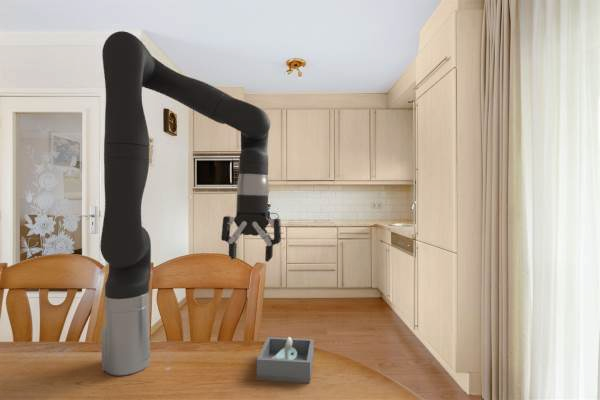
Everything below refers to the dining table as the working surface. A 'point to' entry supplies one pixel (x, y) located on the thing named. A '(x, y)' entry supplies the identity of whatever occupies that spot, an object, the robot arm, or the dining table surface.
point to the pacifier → (287, 351)
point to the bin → (286, 361)
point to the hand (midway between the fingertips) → (250, 259)
